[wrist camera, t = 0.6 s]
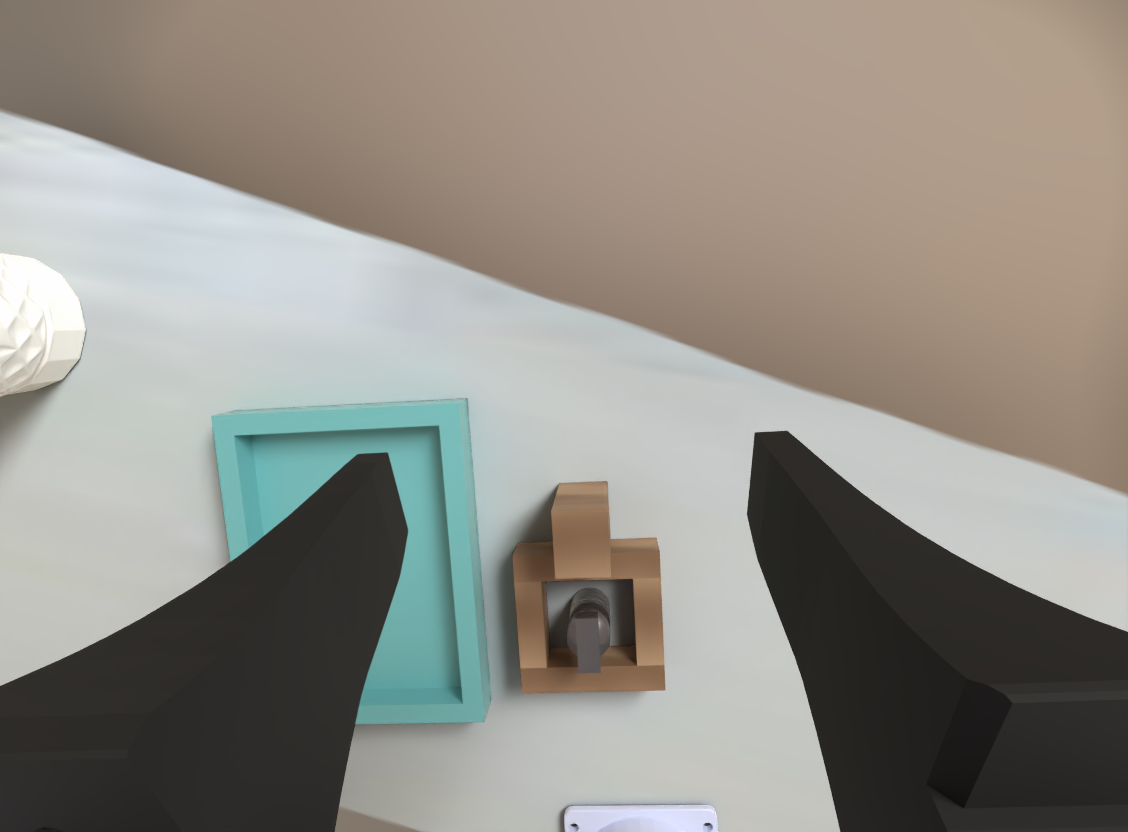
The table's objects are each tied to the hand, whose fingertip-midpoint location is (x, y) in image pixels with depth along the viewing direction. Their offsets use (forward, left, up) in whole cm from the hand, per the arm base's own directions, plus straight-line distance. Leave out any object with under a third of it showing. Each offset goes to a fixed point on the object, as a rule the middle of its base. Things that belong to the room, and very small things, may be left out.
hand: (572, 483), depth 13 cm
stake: (-11, +1, -19) cm, 22 cm away
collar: (-10, +1, -19) cm, 22 cm away
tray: (-8, +12, -19) cm, 24 cm away
